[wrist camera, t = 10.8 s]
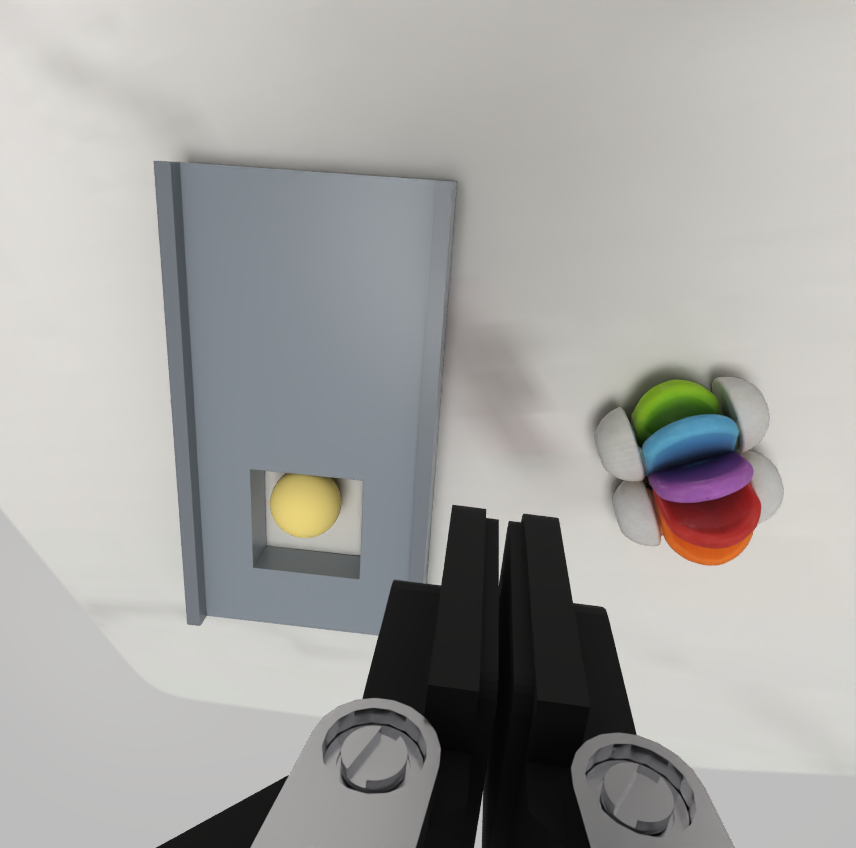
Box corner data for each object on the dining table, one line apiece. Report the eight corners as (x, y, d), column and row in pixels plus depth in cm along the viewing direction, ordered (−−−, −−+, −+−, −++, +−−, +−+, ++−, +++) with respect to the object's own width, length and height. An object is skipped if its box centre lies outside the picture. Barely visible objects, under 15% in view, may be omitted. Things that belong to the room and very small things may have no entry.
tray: (185, 162, 35) (153, 160, 31) (457, 181, 34) (452, 181, 30) (210, 590, 44) (187, 624, 40) (424, 614, 43) (418, 651, 39)
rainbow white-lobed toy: (621, 541, 40) (647, 615, 33) (581, 391, 37) (600, 440, 30) (770, 506, 38) (830, 577, 31) (740, 346, 35) (799, 387, 28)
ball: (284, 465, 41) (265, 464, 37) (349, 470, 40) (337, 470, 36) (277, 531, 40) (257, 537, 36) (343, 537, 40) (330, 544, 36)
